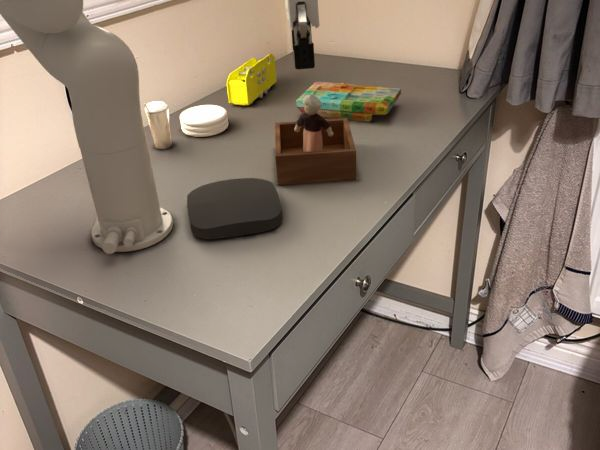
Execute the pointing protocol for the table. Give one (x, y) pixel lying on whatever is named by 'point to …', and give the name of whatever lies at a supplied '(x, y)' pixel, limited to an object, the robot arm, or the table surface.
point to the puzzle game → (351, 100)
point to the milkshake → (159, 123)
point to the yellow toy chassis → (251, 80)
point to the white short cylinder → (204, 120)
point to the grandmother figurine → (312, 125)
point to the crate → (315, 155)
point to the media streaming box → (234, 208)
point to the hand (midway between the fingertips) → (303, 59)
